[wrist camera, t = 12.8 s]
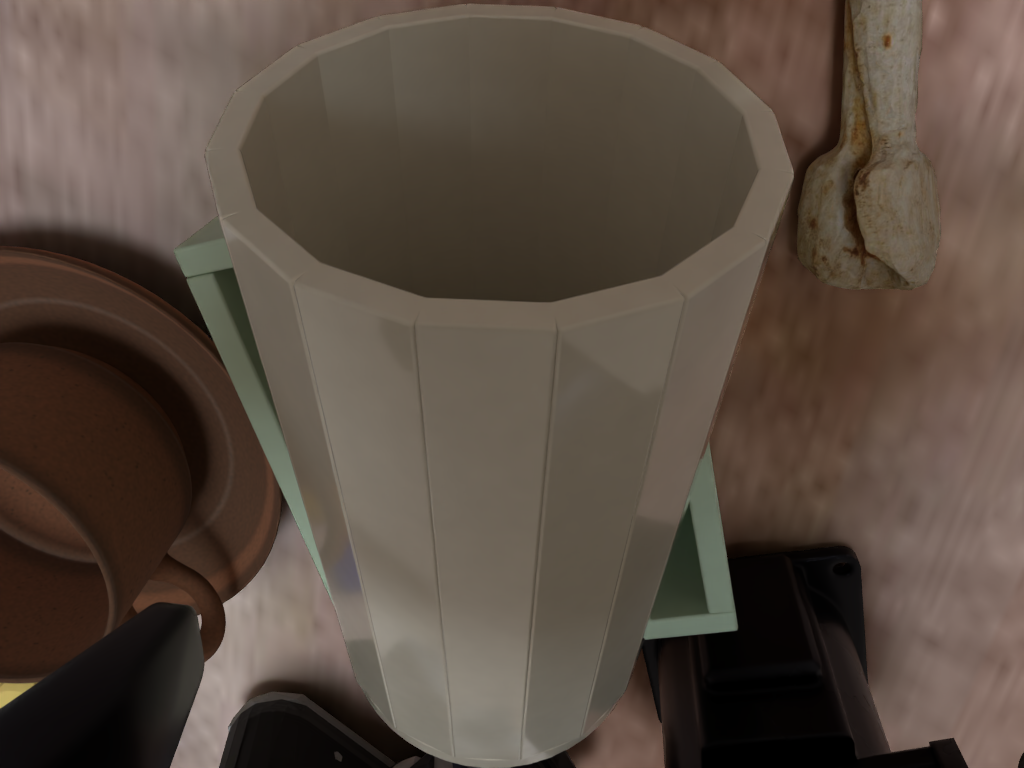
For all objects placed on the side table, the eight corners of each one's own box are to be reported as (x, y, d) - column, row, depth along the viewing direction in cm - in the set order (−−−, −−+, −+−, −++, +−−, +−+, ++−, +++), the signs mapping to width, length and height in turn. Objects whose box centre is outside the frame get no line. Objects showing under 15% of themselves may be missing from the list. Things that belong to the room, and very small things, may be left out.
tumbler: (691, 703, 18) (916, 239, 8) (392, 820, 16) (261, 405, 7) (570, 467, 22) (632, -23, 13) (320, 541, 20) (178, 42, 11)
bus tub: (713, 496, 23) (738, 631, 19) (404, 536, 25) (361, 669, 21) (649, 87, 18) (662, 142, 14) (267, 176, 20) (170, 249, 16)
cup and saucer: (362, 349, 22) (283, 489, 16) (238, 633, 28) (149, 805, 22) (-91, 139, 20) (-341, 219, 15) (-123, 486, 26) (-313, 634, 21)
